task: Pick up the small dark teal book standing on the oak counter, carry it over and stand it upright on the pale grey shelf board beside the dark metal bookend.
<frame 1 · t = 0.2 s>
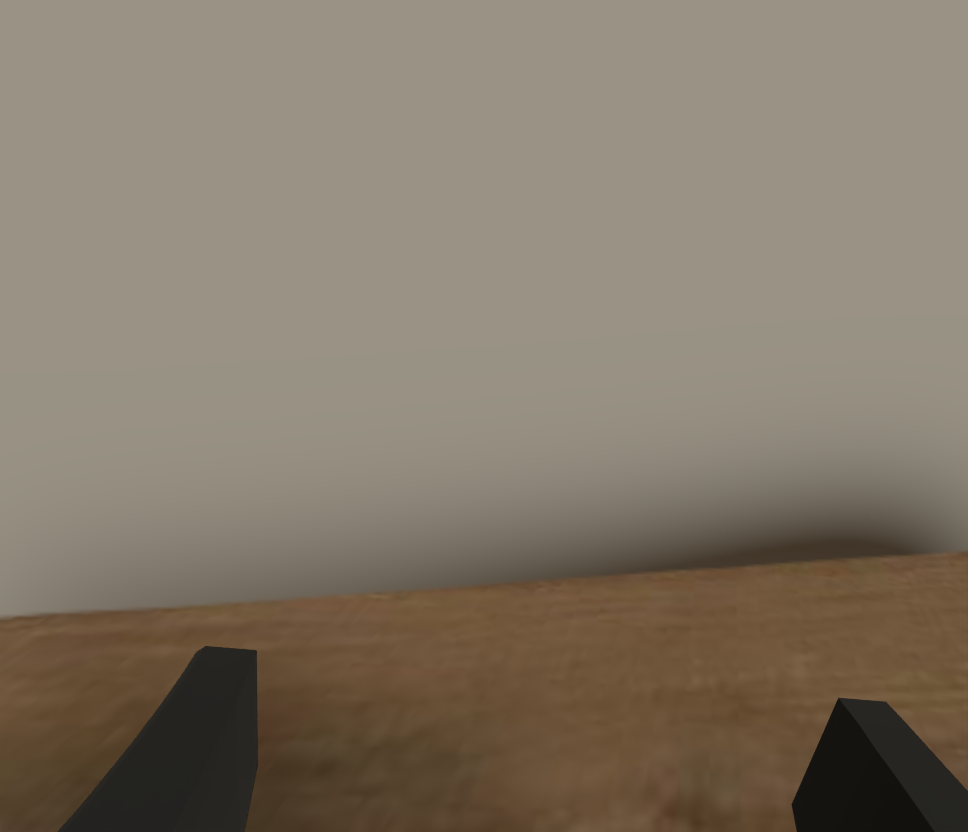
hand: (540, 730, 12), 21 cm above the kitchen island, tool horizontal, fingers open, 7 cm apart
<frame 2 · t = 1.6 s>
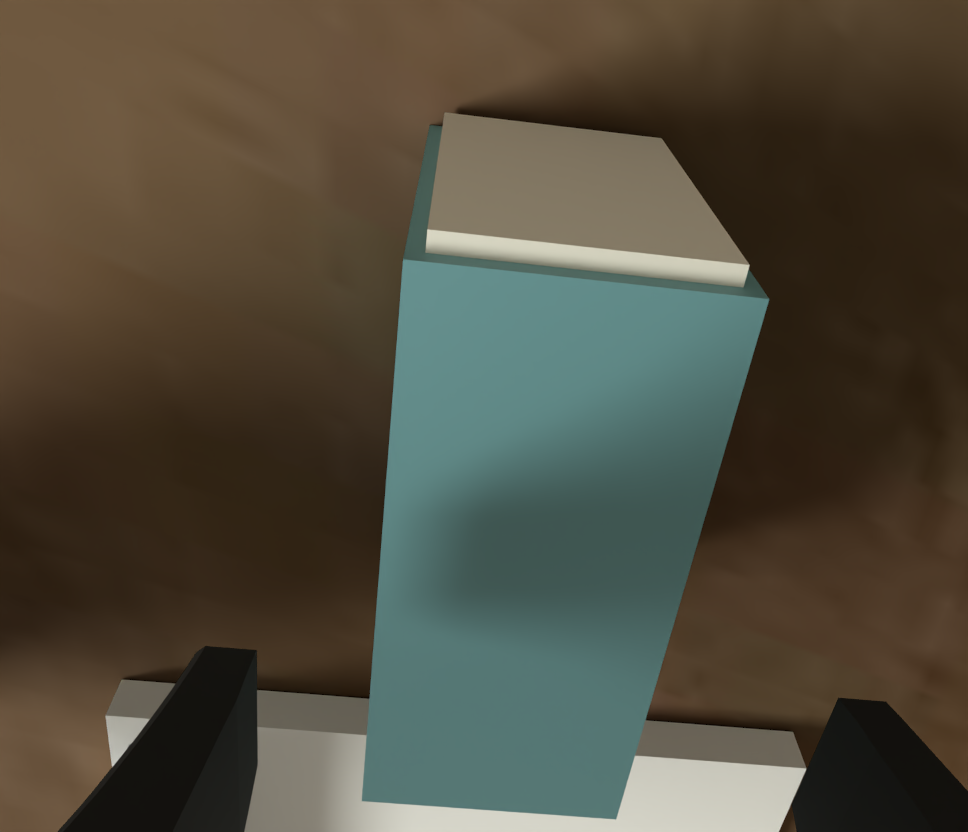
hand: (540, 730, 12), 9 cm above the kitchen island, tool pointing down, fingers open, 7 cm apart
small book: (514, 373, 20), on the kitchen island
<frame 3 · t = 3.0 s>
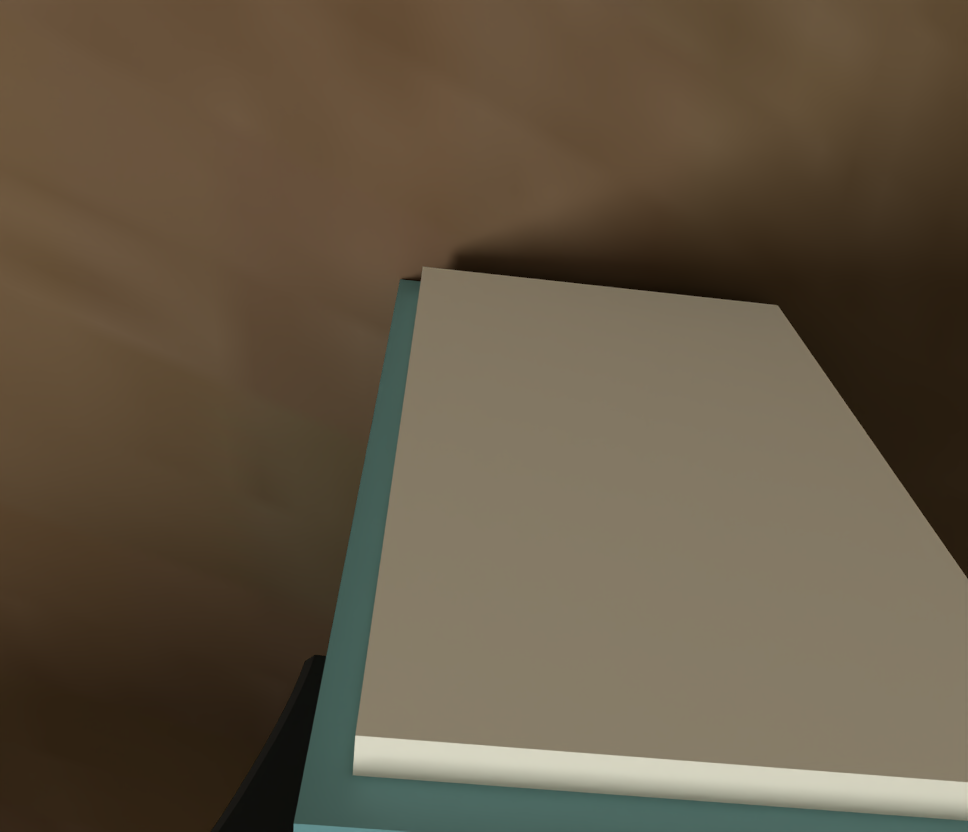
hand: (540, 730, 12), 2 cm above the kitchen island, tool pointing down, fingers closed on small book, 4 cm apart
small book: (532, 622, 13), on the kitchen island, touching gripper
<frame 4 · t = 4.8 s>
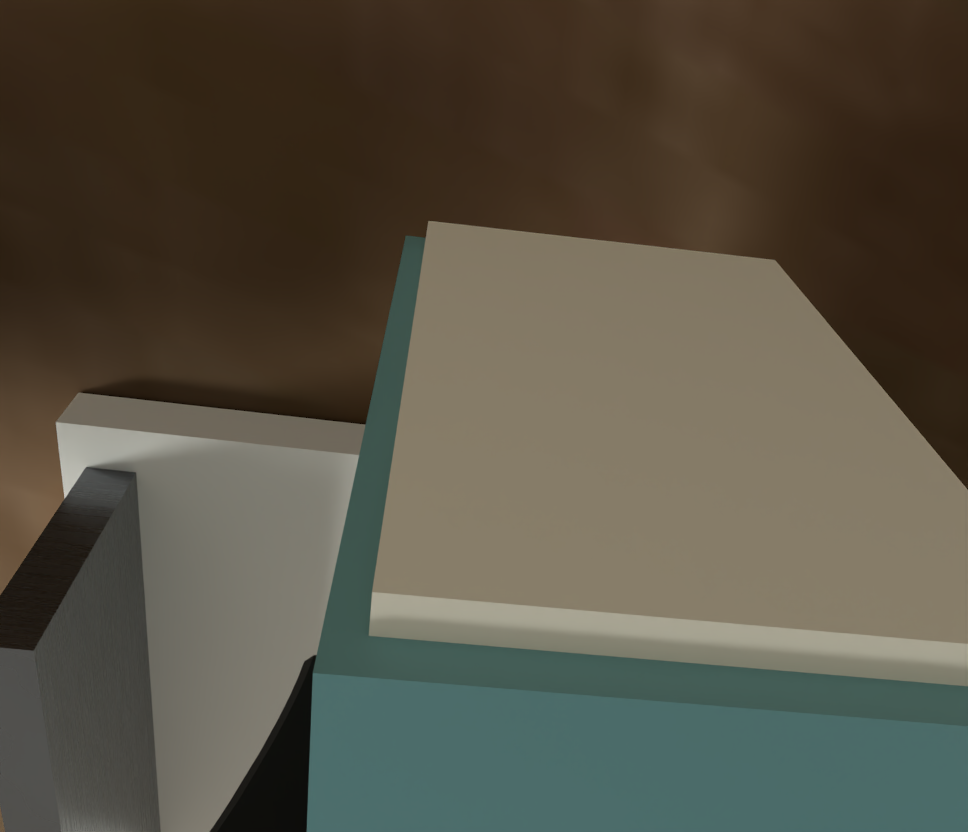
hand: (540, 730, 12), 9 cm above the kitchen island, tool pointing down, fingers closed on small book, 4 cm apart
small book: (535, 587, 13), point 7 cm above the kitchen island, touching gripper
shelf board: (466, 673, 23), on the kitchen island
bookend: (144, 643, 23), resting on shelf board
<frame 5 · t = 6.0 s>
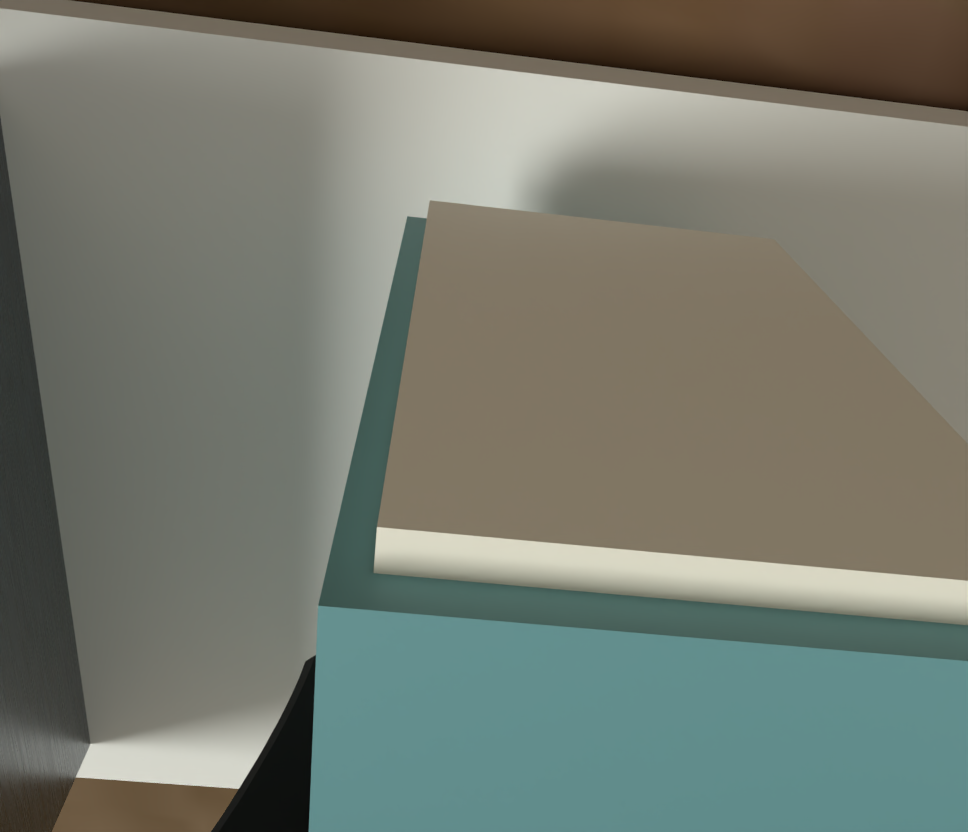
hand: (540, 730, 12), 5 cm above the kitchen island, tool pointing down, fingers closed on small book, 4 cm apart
small book: (536, 572, 13), point 3 cm above the kitchen island, touching gripper
shelf board: (521, 486, 16), on the kitchen island
bookend: (51, 442, 16), resting on shelf board
when the fingers open (4 cm above the kitchen island, at t = 7.1 s): small book stays where it is, resting on shelf board.
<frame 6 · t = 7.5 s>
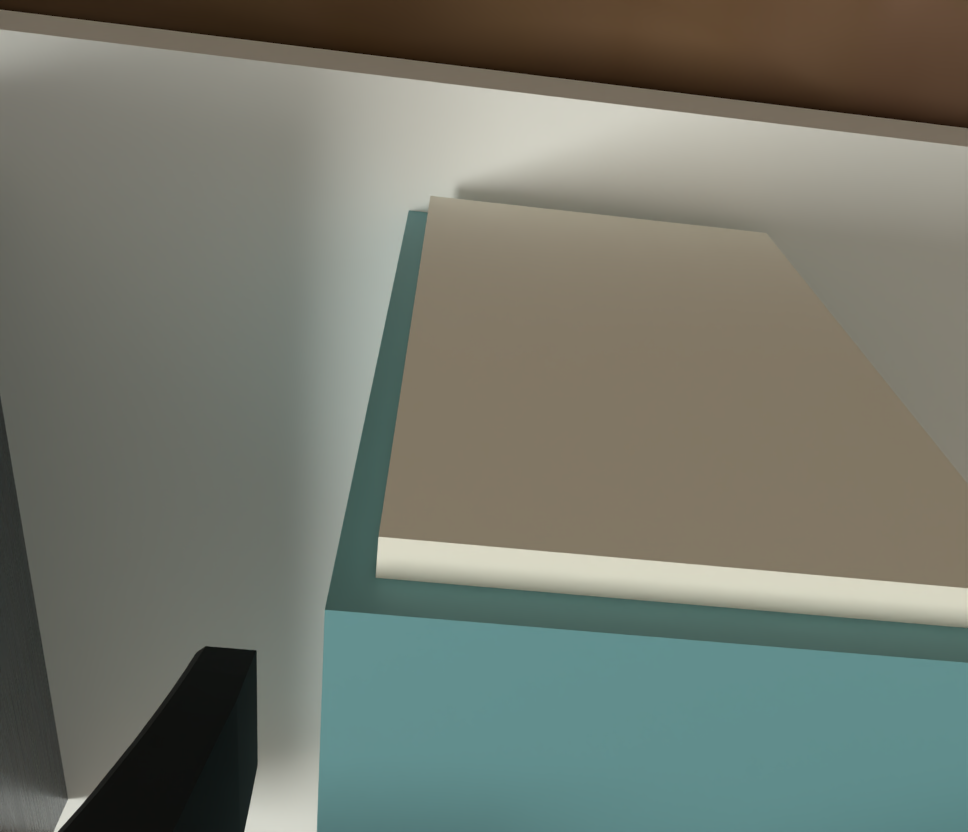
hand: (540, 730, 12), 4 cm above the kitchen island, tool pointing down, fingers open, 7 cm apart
small book: (535, 552, 14), point 1 cm above the kitchen island, touching shelf board
shelf board: (526, 529, 15), on the kitchen island
bookend: (23, 483, 15), resting on shelf board
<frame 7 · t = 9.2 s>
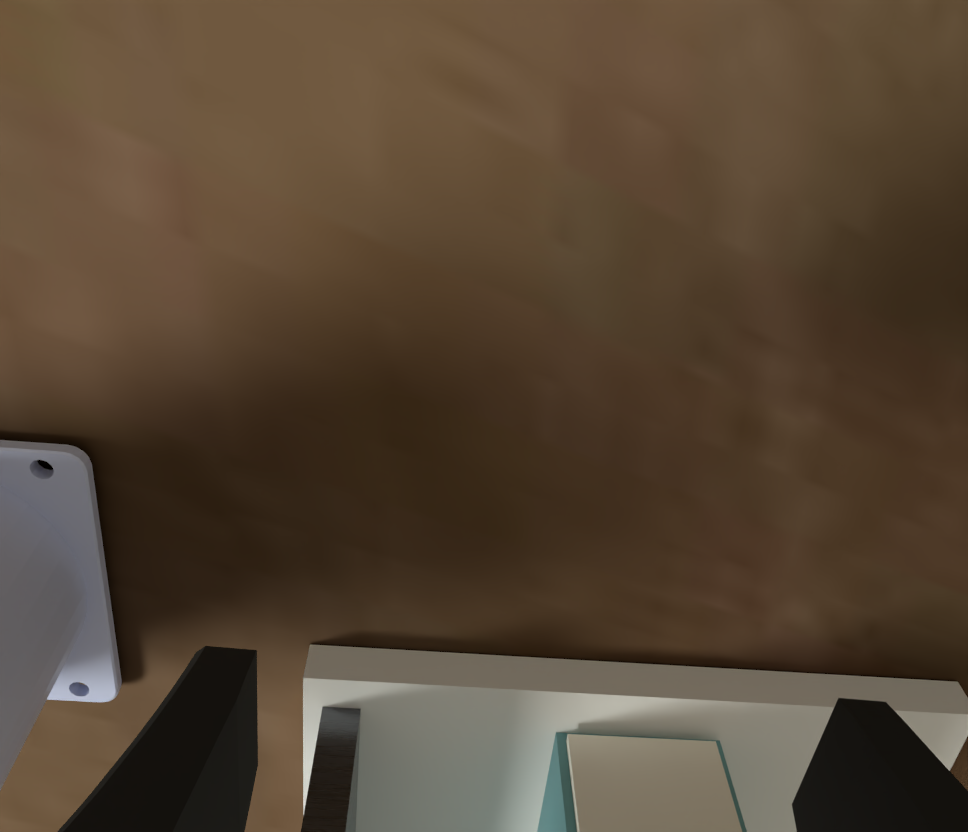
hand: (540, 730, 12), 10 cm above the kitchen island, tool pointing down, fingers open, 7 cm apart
shelf board: (600, 827, 29), on the kitchen island
bookend: (342, 815, 28), resting on shelf board
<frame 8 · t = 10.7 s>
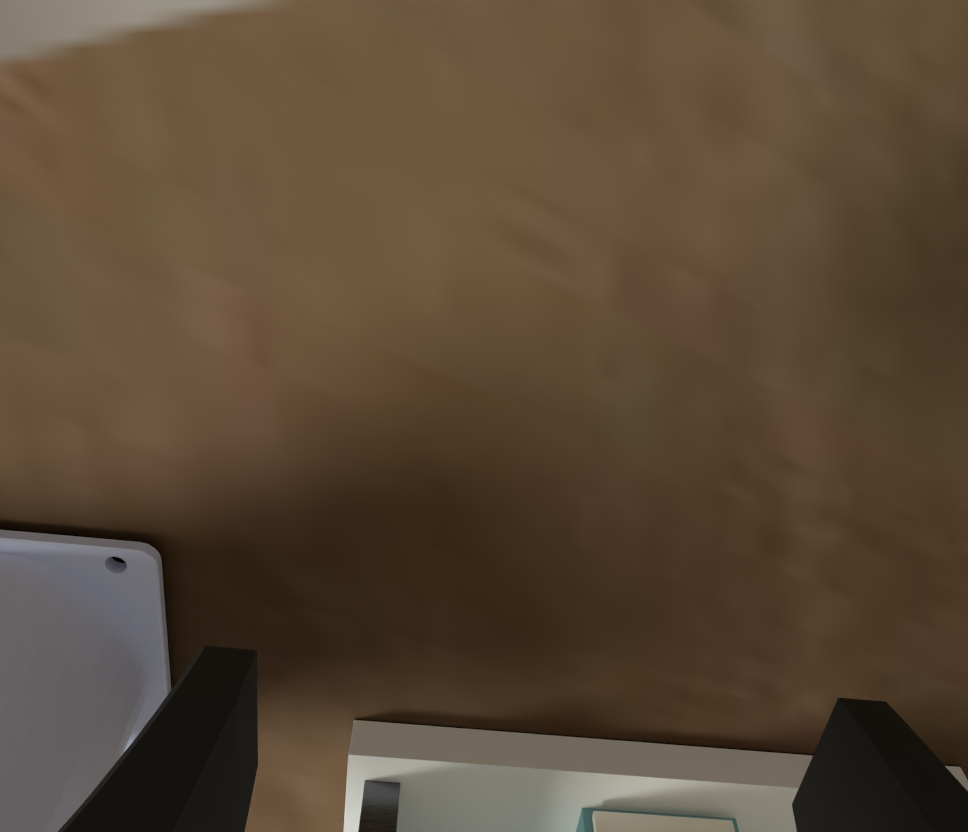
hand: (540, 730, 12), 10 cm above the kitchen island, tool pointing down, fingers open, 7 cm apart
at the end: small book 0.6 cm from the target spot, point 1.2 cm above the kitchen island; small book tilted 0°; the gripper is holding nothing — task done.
